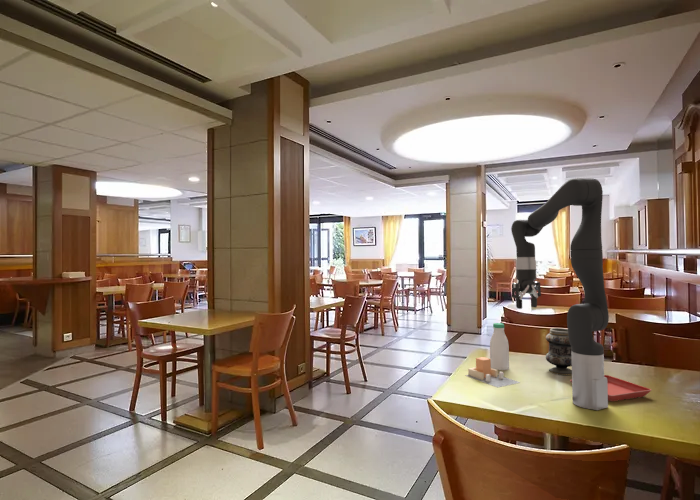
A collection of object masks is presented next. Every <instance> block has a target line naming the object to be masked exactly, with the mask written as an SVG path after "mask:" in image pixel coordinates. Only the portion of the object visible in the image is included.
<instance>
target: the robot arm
mask: <svg viewBox="0 0 700 500" xmlns="http://www.w3.org/2000/svg"><path fill="white" fill-rule="evenodd" d="M603 194H604V193H603V186H602V184H601V182H600V181H599V180H598V179H596V178H585V177H573V178H570V179H568V180H567V181H565V182H564V183H563V184H562V185H561V186H560V187H559V188H558V189H557V190H556V192H555V193H554V194H553V195H552V196H551V197H550V198H549V199H548V200H546V201H545V203H543V204H542V205H541V206H540V207H538V208H537V209H535V210H534V211H532V212H531V213H530V214H529V215H528V217H527V219H516V220H514V221H513V222H512V224H511V228H510V230H511V235H512V237H513V238H512V239H513V241H514V244H515V249H516V255H515V256H516V258H515V269H516V270H515V276H516V277H515V278H516V280H517V282H512V283H511V298H513V299H515V307H516V309H519V310H522V309H523V297H524V296H525V295H526V294H529V295H530V307H531V308H537V307H538V298H539V297H542V291H541V290H542V289H541V282H540V281H536V280H537V260H536V246H535V244H534V243H533V242H529V241H527V239H526V237H528V238H531V237H532V238H533V237H535V236H537V235H538V234H539V233H541V231H542V230H543V229H544V228H545V227H546V226H547V225H549V224H551V223H552V222H554V220H556V218H557V217H558V215H559V212H560V211H561V210H563V209H565V208H566V207H567V208H568V207H570V206H575V207H577V206H578V207H579V206H580V207H581V221H580V224H579V227H578V228H577V230H576V232H575V234H574V236H573V238H572V239H571V242H570V248H569V249H570V251H569V252H570V264H571V267H572V270H573V272H574V274H575V275H576V277H577V278H578V279H579V282H580V284H581V285H582V287H583V288H582V289H583V292H584V303H576V304H573V305H570V307H569V308H568V311H567V316H566V324H567V329H568V338H569V342H570V345H571V355H572V366H571V370H572V375H571V379H572V383H571V384H572V385H571V390H572V391H571V394H572V395H571V397H572V403H573V405H575V406H577V407H580V408H584V409H587V410H588V409H589V410H594V411H599V410H600V411H601V410H603V409H607V408H609V401H608V383H607V378H606V377H604V375H605V357H604V355H605V351H604V350H605V349H604V346H603V344H602V343H600V342H597V341H595V340H594V336H593V334H594V333H593V332H600V331H603V330H605V329H606V328H607V327H608V325H609V320H610V319H609V317H610V315H609V308H608V302H607V297H606V296H607V295H606V290H605V278H604V267H603V266H604V265H603V264H604V260H603V259H604V255H603V242H602V241H603V240H602V213H603V212H602V210H603V199H604V198H603V197H604V195H603Z"/></svg>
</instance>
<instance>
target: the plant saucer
mask: <svg viewBox="0 0 700 500" xmlns="http://www.w3.org/2000/svg"><path fill="white" fill-rule="evenodd" d="M604 377H606V378H607V383H608V402H618V400H619V401H625V400H624V399H626V400H631V399H630V398H633V399H638V398H637V397H640V398H643V396H644V397H645V396H647V395H649V394H650V392H651V391H652V388H648V387H646V386H642V385H639V384H636V383H633V382H631V381H627V380H624V379H620V378H618V377H615V376H612V375H608V374H604ZM569 381H570V383H571V384H572V378H571V379H569Z"/></svg>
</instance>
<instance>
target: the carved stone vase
mask: <svg viewBox="0 0 700 500" xmlns="http://www.w3.org/2000/svg"><path fill="white" fill-rule="evenodd" d="M545 340H546V341H547V343H548V353H546V354H545V360H546V361H547V363H549V364H551V365H553V366H555V367H550V368H549V369H548V372H550V373H551V374H555V375H559V376H560V375H561V376H572V368H571V369H570V368H569V367H572V355H571V345H570V342H569V338H568V328H564V327H551V328H550V329H549V333H547V334H546V335H545Z"/></svg>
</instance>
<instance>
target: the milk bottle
mask: <svg viewBox="0 0 700 500" xmlns="http://www.w3.org/2000/svg"><path fill="white" fill-rule="evenodd" d="M492 328H493V333H492V335H491V338H490V340H489V341H490V342H489V359H491V368H492V369H495V370H498V371H508V370H509V369H510V350H509V346H510V345H509V340H508V337H507V336H506V334H505V324H504V323H501V322H494V323H493V324H492Z"/></svg>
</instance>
